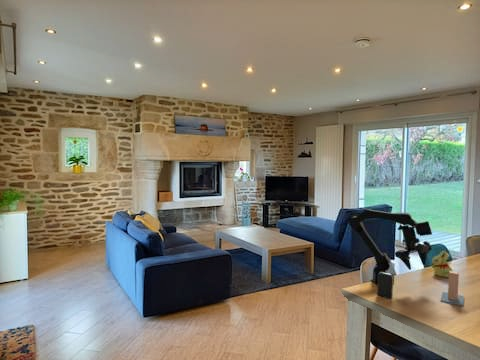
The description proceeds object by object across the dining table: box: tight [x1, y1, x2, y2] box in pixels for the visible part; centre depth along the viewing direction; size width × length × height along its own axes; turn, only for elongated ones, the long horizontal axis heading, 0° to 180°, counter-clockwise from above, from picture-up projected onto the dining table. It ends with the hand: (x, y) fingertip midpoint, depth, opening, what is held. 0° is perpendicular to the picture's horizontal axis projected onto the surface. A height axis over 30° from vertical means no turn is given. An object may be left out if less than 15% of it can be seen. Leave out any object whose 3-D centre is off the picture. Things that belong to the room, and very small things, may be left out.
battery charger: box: [376, 271, 395, 299], centre depth 159 cm, size 7×4×11 cm, turn 47°
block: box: [447, 270, 460, 300], centre depth 156 cm, size 4×4×12 cm
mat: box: [440, 291, 465, 307], centre depth 157 cm, size 13×9×1 cm
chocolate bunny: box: [431, 250, 453, 279], centre depth 190 cm, size 7×11×15 cm, turn 51°
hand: (417, 267), depth 169 cm, fingers open, 9 cm apart
